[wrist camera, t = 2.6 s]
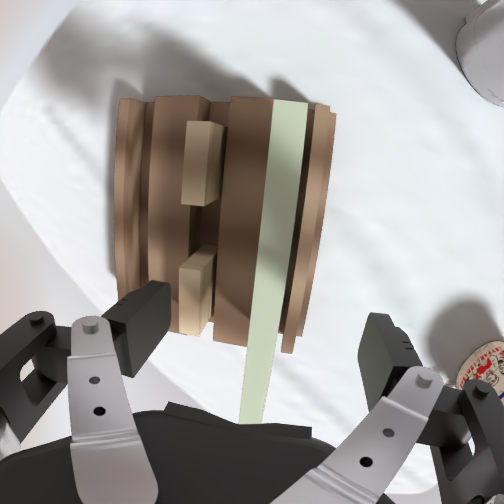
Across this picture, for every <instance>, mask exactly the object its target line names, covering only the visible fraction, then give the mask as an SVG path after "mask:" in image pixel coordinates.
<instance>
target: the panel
mask: <svg viewBox="0 0 504 504" xmlns="http://www.w3.org/2000/svg"><path fill="white" fill-rule="evenodd" d="M307 111H308V103H303V102H295V101H285V100H275V99H274V104H273V114H272V124H271V133H270V143H269V152H268V162H267V171H266V181H265V190H264V200H263V209H262V218H261V227H260V237H259V246H258V255H257V264H256V273H255V282H254V291H253V300H252V309H251V318H250V327H249V336H248V345H247V353H246V362H245V371H244V379H243V388H242V397H241V405H240V414H239V422H238V424H261V422H262V417H263V412H264V407H265V402H266V396H267V391H268V386H269V380H270V375H271V369H272V364H273V358H274V352H275V346H276V341H277V335H278V329H279V323H280V316H281V310H282V304H283V298H284V291H285V285H286V278H287V272H288V265H289V258H290V251H291V244H292V237H293V229H294V222H295V215H296V207H297V199H298V191H299V183H300V175H301V166H302V158H303V149H304V140H305V130H306V121H307Z"/></svg>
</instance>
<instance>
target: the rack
mask: <svg viewBox="0 0 504 504" xmlns="http://www.w3.org/2000/svg"><path fill="white" fill-rule="evenodd" d="M275 100H278V99H275ZM273 104H274V99H266V98H253V97H235V96H231V103H229V102H210V101H208V100H207V99H205V98H203V97H201V96H158V97H156V100H155V102H152V103H146V102H142V101H139V100H135V99H131V98H127V99H120V103H119V112H118V122H117V135H116V149H115V170H114V241H115V262H116V277H117V290H118V301H119V300H122V298H123V297H124V296H125V295H126V294H128V293H129V292H132V291H134V290H137V289H141V288H143V287H144V286H145V285H146V284H147V283H148V282H149V281H151V280H156V281H161V282H167V283H169V284H170V286H171V324H170V328H169V330H168V331H170V332H174V333H179V267H180V266H181V265H182V264H183V263H184V262H185V261H186V260H187V259H189V258H190V257H191V256H192V255H193V254H194V253H195V252H196V251H197V250H198V249H199V248H200V247H201V246H202V245H203V244H209V245H216V246H218V255H217V271H216V288H215V307H214V311H213V313H212V314H211V316H210V318H209V320H208V321H209V322H214V328H213V341H217V342H223V343H228V344H233V345H239V346H245V347H247V345H248V336H249V327H250V318H251V309H252V300H253V291H254V282H255V273H256V264H257V255H258V246H259V237H260V227H261V218H262V209H263V200H264V190H265V181H266V171H267V162H268V152H269V143H270V133H271V124H272V114H273ZM187 121H211V122H214V123H217V124H219V125H222V126H225V127H228V132H227V143H226V153H225V164H224V176H223V188H222V197H221V198H219V199H217V200H215V201H213V202H211V203H209V204H207V205H206V206H196V205H187V204H181V196H182V179H183V164H184V151H185V139H186V128H187ZM335 124H336V113H330V106H327V105H320V104H316V105H315V109H314V110H309V109H308V111H307V121H306V130H305V140H304V149H303V158H302V166H301V175H300V183H299V191H298V199H297V207H296V215H295V222H294V229H293V237H292V244H291V251H290V258H289V265H288V272H287V278H286V285H285V291H284V298H283V304H282V310H281V316H280V323H279V329H278V333H280V334H283V339H282V347H281V352H282V353H289V354H292V352H293V348H294V343H295V338H296V336H301V337H302V334H303V329H304V324H305V319H306V314H307V309H308V304H309V299H310V294H311V289H312V284H313V278H314V273H315V267H316V261H317V256H318V250H319V244H320V238H321V231H322V225H323V218H324V212H325V205H326V198H327V191H328V183H329V176H330V168H331V160H332V152H333V143H334V134H335ZM179 334H182V333H179ZM183 335H187V334H183Z"/></svg>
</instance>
